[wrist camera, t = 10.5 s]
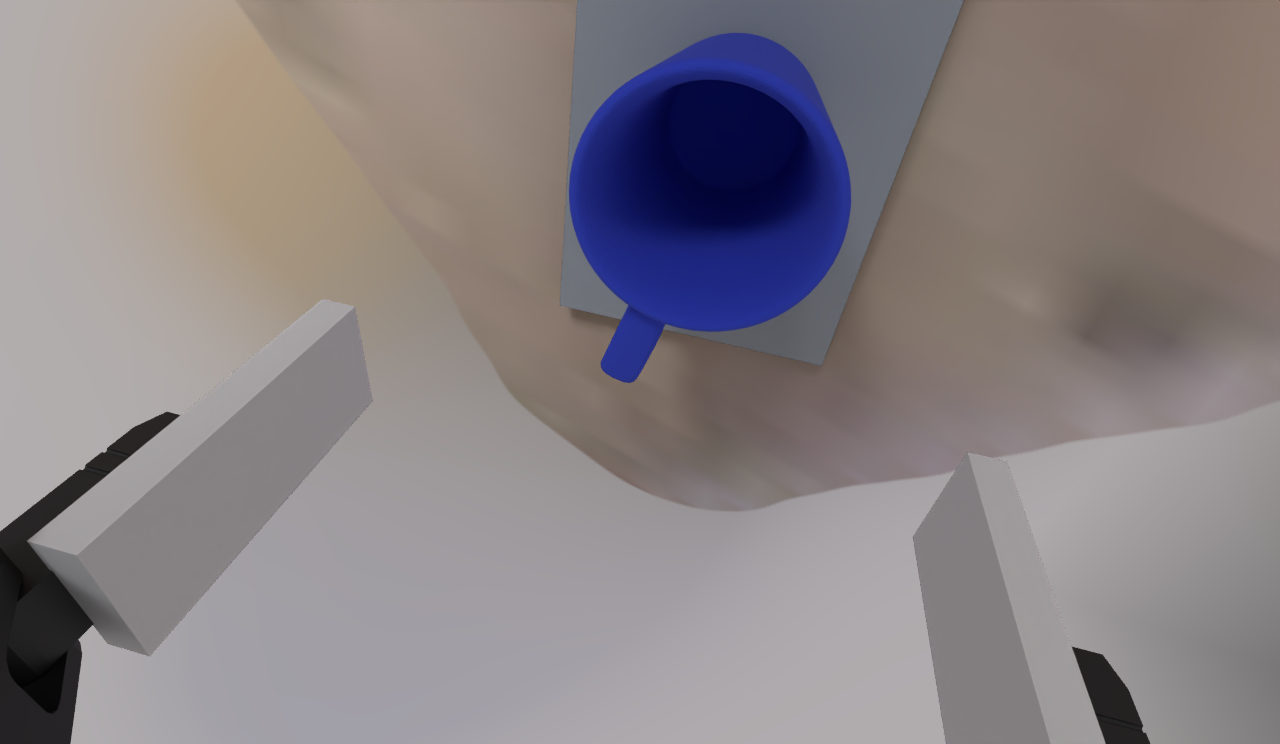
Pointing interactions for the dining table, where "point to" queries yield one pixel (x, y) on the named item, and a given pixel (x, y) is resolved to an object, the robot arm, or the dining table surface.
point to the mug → (709, 193)
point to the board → (847, 83)
